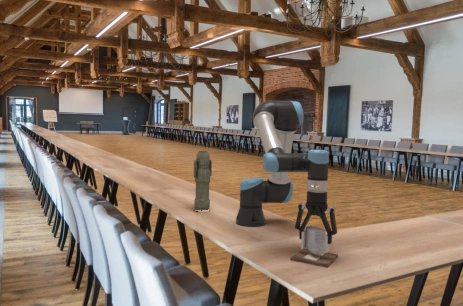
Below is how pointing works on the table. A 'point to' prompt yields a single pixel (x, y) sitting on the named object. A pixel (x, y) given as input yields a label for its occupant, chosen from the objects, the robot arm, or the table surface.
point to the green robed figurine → (202, 180)
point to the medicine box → (315, 239)
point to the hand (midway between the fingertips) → (314, 249)
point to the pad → (314, 258)
